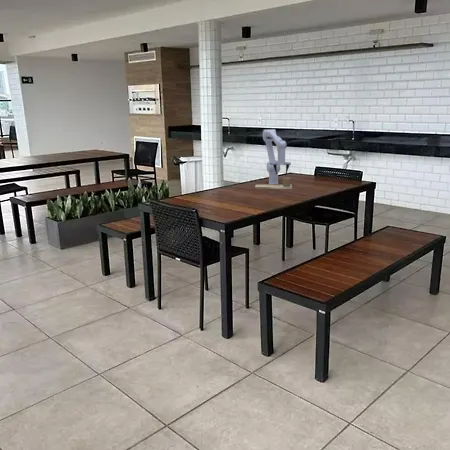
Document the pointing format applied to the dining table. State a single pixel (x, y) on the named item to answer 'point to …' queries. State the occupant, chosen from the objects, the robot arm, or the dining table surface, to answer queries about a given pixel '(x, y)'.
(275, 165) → the robot arm
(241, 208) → the dining table surface
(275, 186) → the birch board
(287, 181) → the eraser block
